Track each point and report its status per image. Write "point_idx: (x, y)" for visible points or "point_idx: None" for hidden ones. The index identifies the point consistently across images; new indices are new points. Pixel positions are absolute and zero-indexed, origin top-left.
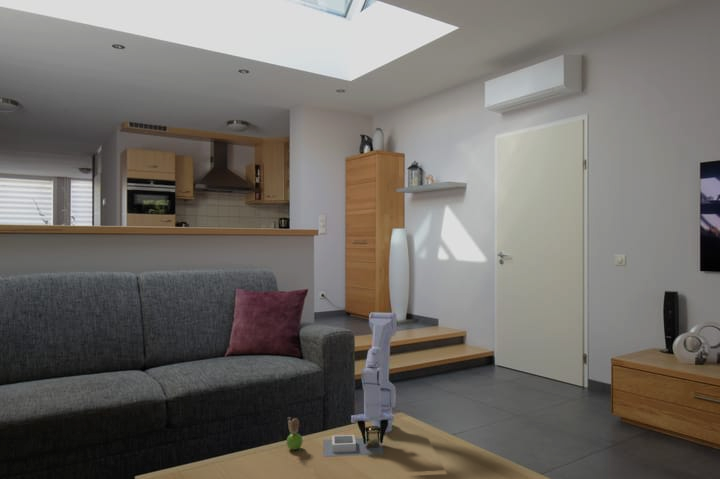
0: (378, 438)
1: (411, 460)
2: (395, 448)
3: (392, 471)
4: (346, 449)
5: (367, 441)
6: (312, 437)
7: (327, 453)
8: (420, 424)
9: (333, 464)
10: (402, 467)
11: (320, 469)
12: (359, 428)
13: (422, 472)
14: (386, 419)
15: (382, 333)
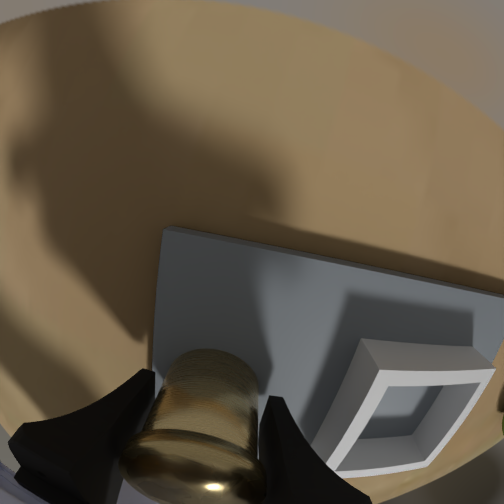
0: (160, 397)
1: (39, 137)
2: (81, 327)
3: (193, 8)
4: (420, 350)
5: (256, 405)
6: (422, 479)
7: (494, 334)
8: None
9: (498, 226)
10: (114, 49)
11: None
12: (357, 490)
13: (62, 6)
14: (27, 493)
15: None
